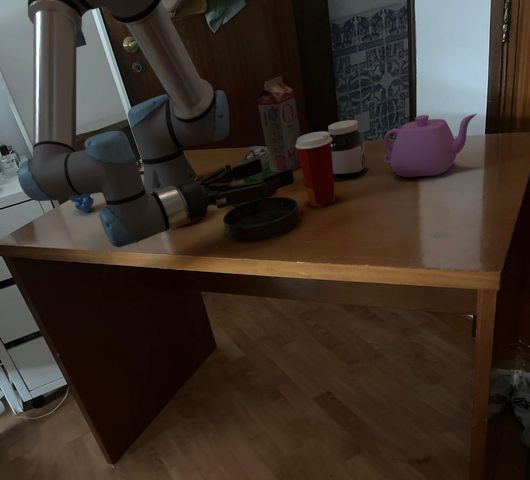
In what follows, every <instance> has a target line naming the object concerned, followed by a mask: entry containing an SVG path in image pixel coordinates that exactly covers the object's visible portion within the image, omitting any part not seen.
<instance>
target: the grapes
mask: <svg viewBox="0 0 530 480" xmlns="http://www.w3.org/2000/svg"><path fill="white" fill-rule="evenodd" d="M91 195H92V194H89V195H79V196H73V197H68V200H69V201H71V202H72V203H75V204H74V208H76V209H77V210H79V211H82V212H84V213H89V212H90V211H91V208H92V206H93V205H94V198H93V197H92V196H91Z"/></svg>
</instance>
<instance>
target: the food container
mask: <svg viewBox="0 0 530 480" xmlns="http://www.w3.org/2000/svg"><path fill="white" fill-rule="evenodd" d="M271 158H272V157H271V154H270V152H269V150H268V149H267V148H266V146H264V145H263V146H261V145H255V146H249V153H248V154H246V155H244V158H243V160H238V163H239V165H242V164H245V163H248V162H250V161H253V160H256V159H260V160H261V165H262V170H263V172H261V173H258V174H255V175H252V176H249V177H247V178H244V179H243V183H249V182H256V181H262V180H261V179H262V178H265V177H267V176H270V175H272V173H271V172H272V171H271V168H270V162H269V161H270V160H271ZM239 165H238V166H239ZM273 193H274V190H273V191H270V192H268V197H269V196H271V195H272V194H273Z"/></svg>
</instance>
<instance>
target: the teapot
mask: <svg viewBox="0 0 530 480" xmlns="http://www.w3.org/2000/svg"><path fill="white" fill-rule="evenodd" d="M476 115H478V113H473V114H470V115H467V116H465V117H464V118H463V119H462V120H461V121H460V123H459V128H458V129H459V130H458V134H457V137H456V138H455V137H454V134H453V132H452V130H451V128H450V126H449V124H448V122H447V121H446V120H445V119H443V118H433V119H432V118H431V119H429V118H430V115H427V114H421V115H417V116H415V118H414V121H410V122H407V123H405V124H403V125H402V126H401V127H400V128H392V129H390V130H389V131H387V132H386V134H384V138H383V141H384V145H385V148H386V151H387V153H386V154H385V155H384V157H383V161H384V163H386V164H387V165H390V166H391V167H390V168H391V169H392V170H393V172H394V173H395V175H397V176H400V177H403V178H413V177H427V176H428V177H436V176H439V175H440V174H442V173H445V172H446V171H448V170H449V169H450V167H451V166H452V165H453V163H454V162H455V159H456V157H457V155H458V154H459V153H461V151H462V150H463V149H464V147H465V145H466V141H467V133H468V126H469V123H470V122H471V120H472V119H473V118H474V117H475V116H476ZM392 134H396V137H395V139H394V143H393V146H392V145H391V141H390V136H391V135H392ZM389 157H390V159H389Z"/></svg>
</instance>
